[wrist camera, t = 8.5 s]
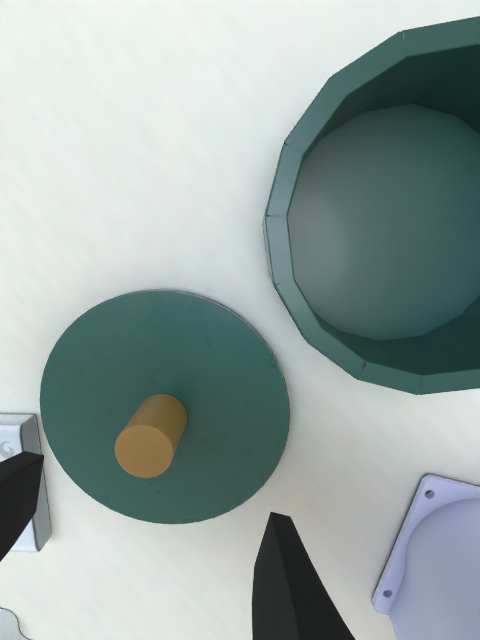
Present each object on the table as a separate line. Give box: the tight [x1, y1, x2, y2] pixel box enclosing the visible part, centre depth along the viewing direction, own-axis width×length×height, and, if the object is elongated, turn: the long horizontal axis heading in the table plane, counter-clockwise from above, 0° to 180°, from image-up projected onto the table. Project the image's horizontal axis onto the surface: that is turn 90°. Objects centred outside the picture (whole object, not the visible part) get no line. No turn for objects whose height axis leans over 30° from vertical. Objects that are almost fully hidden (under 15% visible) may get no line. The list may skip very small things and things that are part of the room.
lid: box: [40, 289, 290, 524], centre depth 18 cm, size 13×13×4 cm
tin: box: [263, 16, 480, 395], centre depth 15 cm, size 12×12×5 cm
